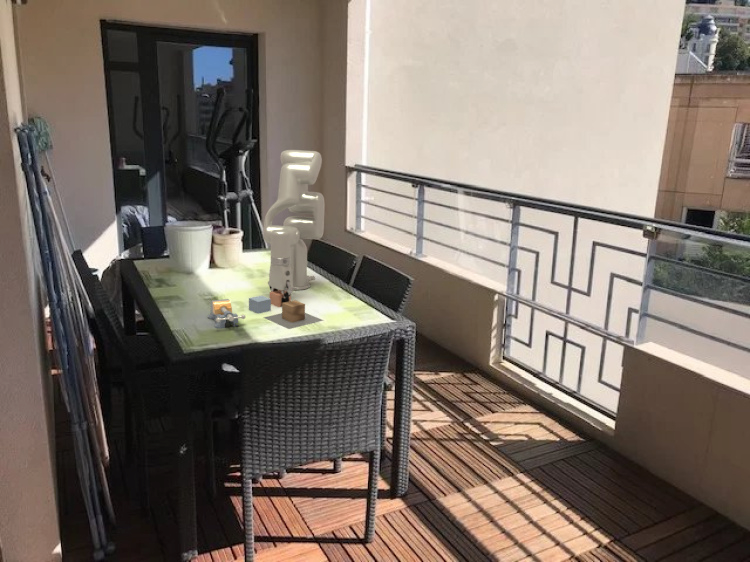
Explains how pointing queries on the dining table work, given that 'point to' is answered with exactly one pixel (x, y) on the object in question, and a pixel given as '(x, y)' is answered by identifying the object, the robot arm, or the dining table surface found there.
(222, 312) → the vise
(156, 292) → the dining table surface
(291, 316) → the brown wooden cube
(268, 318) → the plate
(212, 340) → the dining table surface
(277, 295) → the salmon orange cube
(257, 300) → the slate brick
